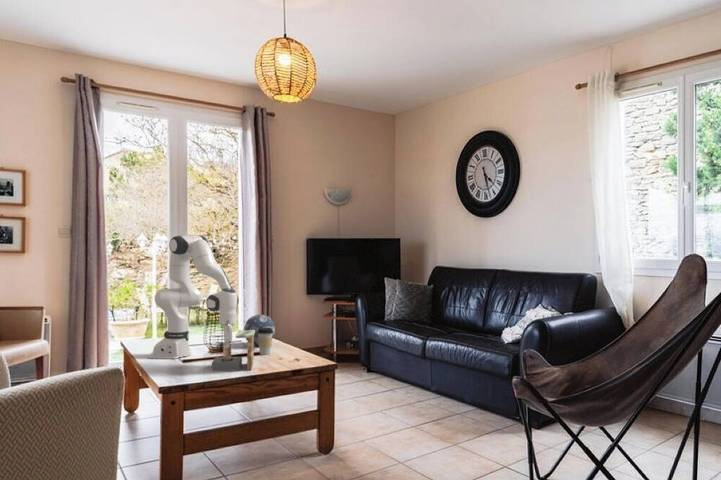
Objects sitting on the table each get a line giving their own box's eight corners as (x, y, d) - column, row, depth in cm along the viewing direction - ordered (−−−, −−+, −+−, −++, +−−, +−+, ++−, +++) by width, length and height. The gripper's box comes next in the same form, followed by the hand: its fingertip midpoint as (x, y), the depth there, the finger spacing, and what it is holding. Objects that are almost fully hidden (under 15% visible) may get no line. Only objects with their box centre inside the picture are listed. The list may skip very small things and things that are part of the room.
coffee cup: (253, 355, 288) (254, 329, 288) (261, 351, 297) (262, 327, 297) (268, 356, 285) (268, 330, 285) (275, 353, 294) (276, 328, 294)
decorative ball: (281, 345, 318) (282, 314, 318) (258, 350, 301) (259, 317, 301) (259, 341, 329) (260, 311, 329) (236, 346, 312) (237, 314, 313)
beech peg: (223, 368, 256) (224, 345, 256) (222, 366, 260) (222, 344, 260) (231, 367, 258) (231, 345, 258) (230, 366, 261) (230, 343, 261)
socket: (211, 370, 252) (211, 362, 252) (215, 364, 264) (215, 357, 264) (239, 369, 254) (239, 362, 254) (241, 364, 266) (242, 356, 266)
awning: (235, 371, 251) (235, 335, 252) (238, 363, 267) (239, 330, 267) (251, 370, 253) (252, 335, 253) (254, 363, 268) (254, 330, 269)
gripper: (235, 322, 250) (234, 349, 250) (233, 316, 270) (232, 341, 270) (222, 323, 248) (221, 350, 248) (221, 316, 268) (220, 341, 268)
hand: (227, 345), depth 259 cm, fingers open, 8 cm apart
